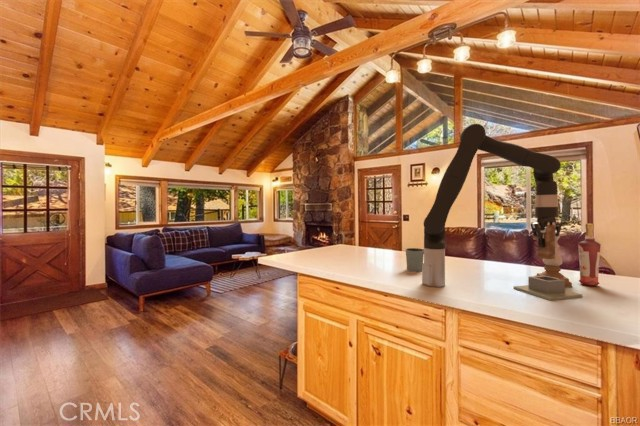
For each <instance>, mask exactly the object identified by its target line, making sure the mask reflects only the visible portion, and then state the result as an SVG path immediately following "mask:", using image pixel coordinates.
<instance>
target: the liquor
mask: <svg viewBox="0 0 640 426" xmlns="http://www.w3.org/2000/svg"><path fill="white" fill-rule="evenodd" d="M584 226H585V235H584V236H585V237H584V240H581V241H579V242H578V260H579V280H578V282H579V283H580V284H581V285H582V286H585V287H597V286H598V285H600V282H599V271H600V270H599V269H600V259H601V245H602V244H600V243H599V242H597V241H595V239H594V223H585V225H584Z"/></svg>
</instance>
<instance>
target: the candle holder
mask: <svg viewBox="0 0 640 426" xmlns="http://www.w3.org/2000/svg"><path fill="white" fill-rule="evenodd" d="M556 232H557V231H556ZM556 232H555V233H556ZM567 235H568V234H567V232H565V231H564V232H563V231H560V234H559V236H556V237H555V259H543V258H542V262H543V264H545V265H544V267H543V269H544V271H542V272H536V275H535V276H543V275H545V276H549V277H555V278H559V279H562V280H565V288H568V287H569V288H572V287H573V283H572V281H570V279H569V278H568V277H566V276H565V275H563V274H562V273H560V272H561V270H562V268H561V267H560V266H561V265H562V264H563V258H562V257H561V256H560V254H559V252H558V250H559V248H560V247H561V246H560V245H559V243H558V240H559V239H561V238H560V237H563V236H567Z"/></svg>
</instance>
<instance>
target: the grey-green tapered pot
mask: <svg viewBox="0 0 640 426" xmlns="http://www.w3.org/2000/svg"><path fill="white" fill-rule="evenodd" d="M405 260H406V270H407V271H409V272H412V273H413V272H416V273H418V272H422V264H423V263H424V248H418V247H417V248H415V247H414V248H413V247H412V248H411V247H410V248H405Z"/></svg>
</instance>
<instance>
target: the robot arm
mask: <svg viewBox="0 0 640 426" xmlns="http://www.w3.org/2000/svg"><path fill="white" fill-rule="evenodd" d="M486 134H487V133H486V129H485V126H483V125H482V124H480V123H473V124H469V125H467V126H466V127H465V128H464V129H463V131H462V132H461V134H460V135H459V144H458V147H457V151H456V153H455V154H454V156H453V157H452V159H451V161H450V162H449V164H448V165H447V168H446V169H445V172H444V174H443V176H442V178H441V181H440V184H439V186H438V188H437V193H436V196H435V199H434V202H433V204H432V206H431V209H430V211H429V212H428V213H427V215H426V217H425V218H424V220H423V250H424V255H423V264H422V271H421V272H422V273H421V274H422V276H421V282H422V284H424V285H426V286H427V287H432V288H433V287H434V288H437V287H438V288H442V287H444V286H446V232H445V231H446V224H447V223H446V222H447V220H448V216H449V213H450V211H451V209H452V206H453V204H454V203H455V201H456V199H457V198H458V196H459V194H460V192H461V190H462V189H463V187H464V184H465V183H466V179H467V177H468V174H469V172H470V169H471V166H472V163H473V160H474V158H475V156H476V154H477V152H478V151H482V152H485V153H489V154H492V155H494V156H497V157H500V158H502V159H503V160H505V161H508V162H510V163H512V164H513V163H514V164H515V165H518V166H520V167H521V166H522V167H529V168H531V169H533V178H534V182H535V203H534V210H535V211H534V216H535V218H536V222H531V223H530V227H531V228H530V229H531V230H532V234H533V237H534V238H537V246H538V245H539V247H545V239H544V238H545V233H546V232H547V225H555V232H556V233H555V237H556V236H559V234H560V232H561V229H562V226H563V223H562V222H559V221H557V219H556V218H558V217H559V199H558V196H559V195H558V183H557V181H555V180H554V174H555V173H557V172H558V171H560V169H561V161H560V160H559V159H558V158H556V157H555V156H552V155H550V154H545V153H540V152H539V151H538V152H536V151H533V150H532V149H529V148H526V147H523V146H521V145H519V144H514V143H511V142H506V141H503V140H499V139H495V138H493V137H491V136H489V135H486ZM540 229H541V230H544V231H540ZM541 233H542V235H541Z"/></svg>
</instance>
